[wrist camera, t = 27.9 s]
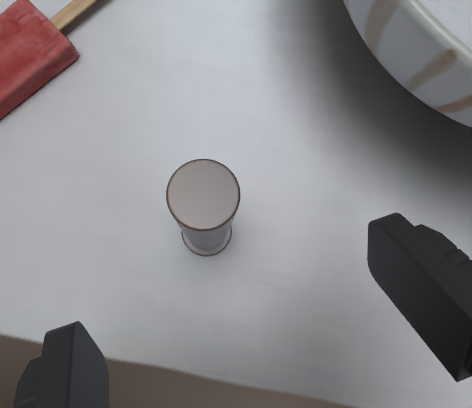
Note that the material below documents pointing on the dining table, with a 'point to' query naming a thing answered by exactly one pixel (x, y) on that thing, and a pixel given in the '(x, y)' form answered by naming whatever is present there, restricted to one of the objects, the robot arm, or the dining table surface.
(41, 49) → the popsicle
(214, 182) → the brown flanged cylinder
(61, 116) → the dining table surface
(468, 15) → the dishware bowl
